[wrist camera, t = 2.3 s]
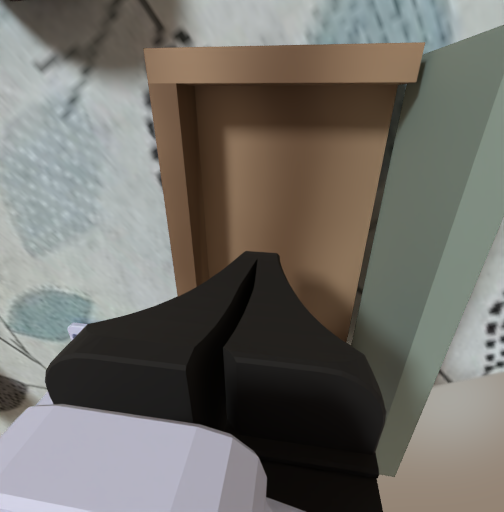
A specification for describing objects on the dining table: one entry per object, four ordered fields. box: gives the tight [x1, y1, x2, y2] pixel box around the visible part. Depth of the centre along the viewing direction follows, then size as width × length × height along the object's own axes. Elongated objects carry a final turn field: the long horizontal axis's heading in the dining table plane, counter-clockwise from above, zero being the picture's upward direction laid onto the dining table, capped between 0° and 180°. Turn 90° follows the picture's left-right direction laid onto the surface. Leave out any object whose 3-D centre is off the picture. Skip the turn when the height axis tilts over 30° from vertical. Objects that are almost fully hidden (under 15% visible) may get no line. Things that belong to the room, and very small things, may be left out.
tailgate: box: [351, 25, 504, 477], centre depth 11 cm, size 1×15×6 cm, turn 0°
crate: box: [143, 42, 425, 342], centre depth 14 cm, size 9×15×4 cm, turn 0°
